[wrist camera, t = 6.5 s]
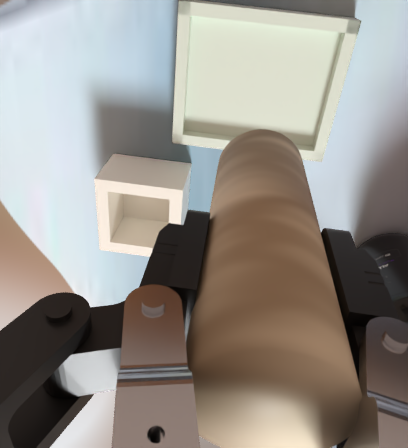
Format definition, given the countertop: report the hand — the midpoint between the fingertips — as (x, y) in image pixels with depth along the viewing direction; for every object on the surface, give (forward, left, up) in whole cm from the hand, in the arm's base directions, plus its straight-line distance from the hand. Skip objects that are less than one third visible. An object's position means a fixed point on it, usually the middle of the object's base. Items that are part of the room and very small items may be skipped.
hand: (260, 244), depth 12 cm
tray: (0, 0, -21) cm, 21 cm away
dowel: (0, 0, -5) cm, 5 cm away
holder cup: (+8, +11, -21) cm, 25 cm away
